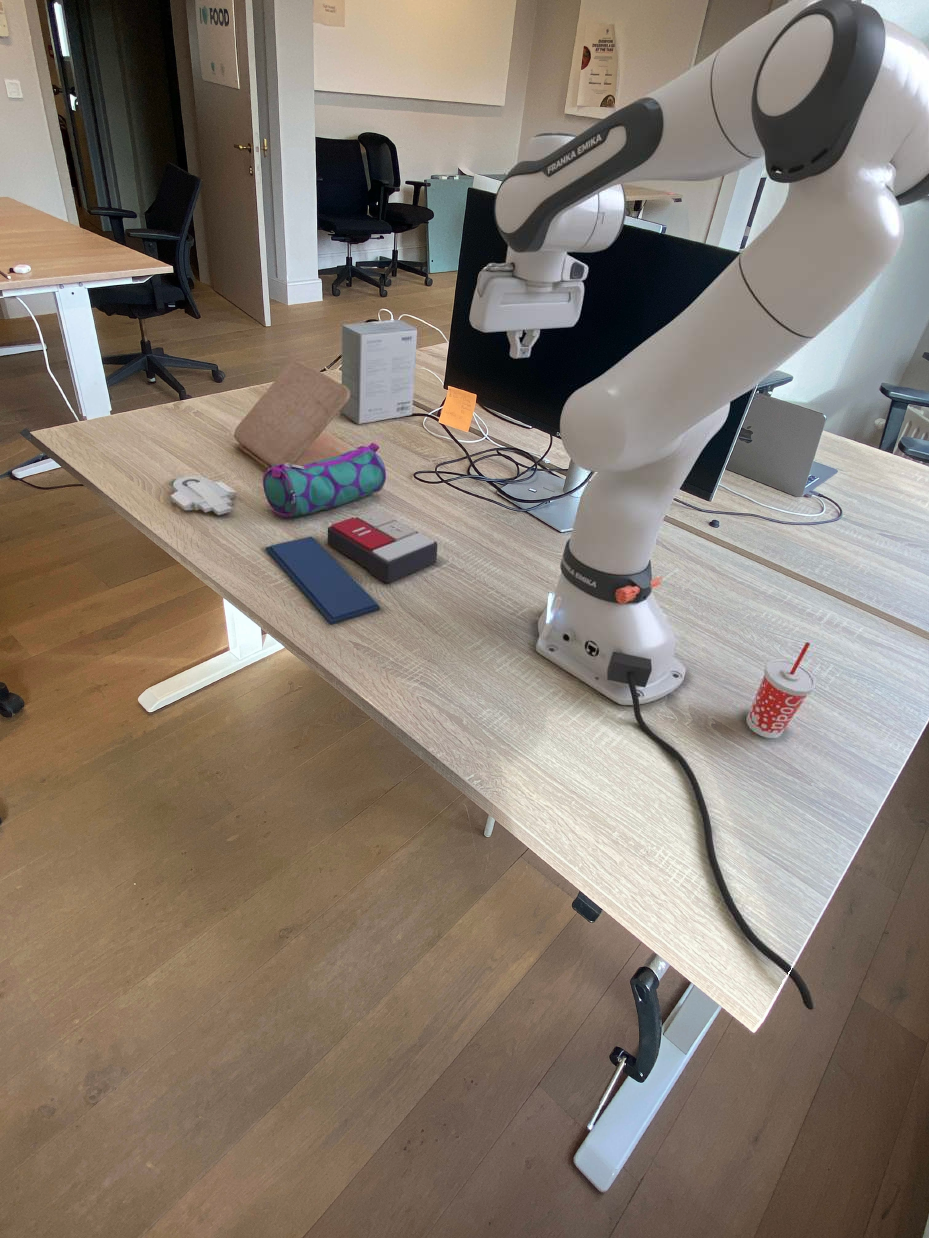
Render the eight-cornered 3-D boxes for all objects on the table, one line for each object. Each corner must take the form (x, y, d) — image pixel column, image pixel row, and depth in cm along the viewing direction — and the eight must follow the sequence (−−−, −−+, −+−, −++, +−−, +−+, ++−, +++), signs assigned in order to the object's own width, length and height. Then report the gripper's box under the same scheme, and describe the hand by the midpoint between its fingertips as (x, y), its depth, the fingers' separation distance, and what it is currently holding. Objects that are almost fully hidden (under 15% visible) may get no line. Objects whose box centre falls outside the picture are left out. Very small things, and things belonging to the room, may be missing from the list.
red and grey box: (377, 505, 119) (439, 538, 111) (377, 528, 122) (437, 562, 114) (326, 523, 113) (387, 559, 105) (326, 546, 115) (386, 584, 107)
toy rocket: (251, 509, 120) (250, 497, 119) (199, 525, 114) (197, 512, 113) (202, 475, 128) (200, 463, 127) (151, 487, 122) (149, 475, 121)
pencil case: (291, 530, 117) (290, 477, 111) (262, 508, 121) (260, 456, 116) (387, 500, 130) (390, 451, 124) (358, 481, 134) (359, 434, 128)
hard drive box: (394, 405, 170) (400, 319, 158) (413, 416, 165) (420, 328, 154) (339, 413, 161) (341, 323, 149) (357, 425, 157) (360, 333, 145)
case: (230, 446, 140) (223, 365, 130) (319, 429, 152) (320, 354, 142) (283, 487, 128) (280, 402, 119) (375, 465, 141) (379, 387, 131)
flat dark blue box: (379, 609, 102) (380, 604, 101) (330, 624, 98) (330, 619, 97) (311, 539, 115) (311, 534, 115) (265, 549, 111) (265, 545, 110)
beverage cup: (743, 736, 90) (787, 653, 81) (737, 705, 94) (777, 623, 86) (791, 747, 89) (840, 664, 81) (782, 714, 94) (827, 633, 86)
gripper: (494, 268, 97) (480, 368, 105) (596, 268, 108) (576, 358, 116) (467, 258, 101) (456, 355, 109) (569, 259, 112) (551, 347, 120)
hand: (519, 357), depth 112 cm, fingers closed
